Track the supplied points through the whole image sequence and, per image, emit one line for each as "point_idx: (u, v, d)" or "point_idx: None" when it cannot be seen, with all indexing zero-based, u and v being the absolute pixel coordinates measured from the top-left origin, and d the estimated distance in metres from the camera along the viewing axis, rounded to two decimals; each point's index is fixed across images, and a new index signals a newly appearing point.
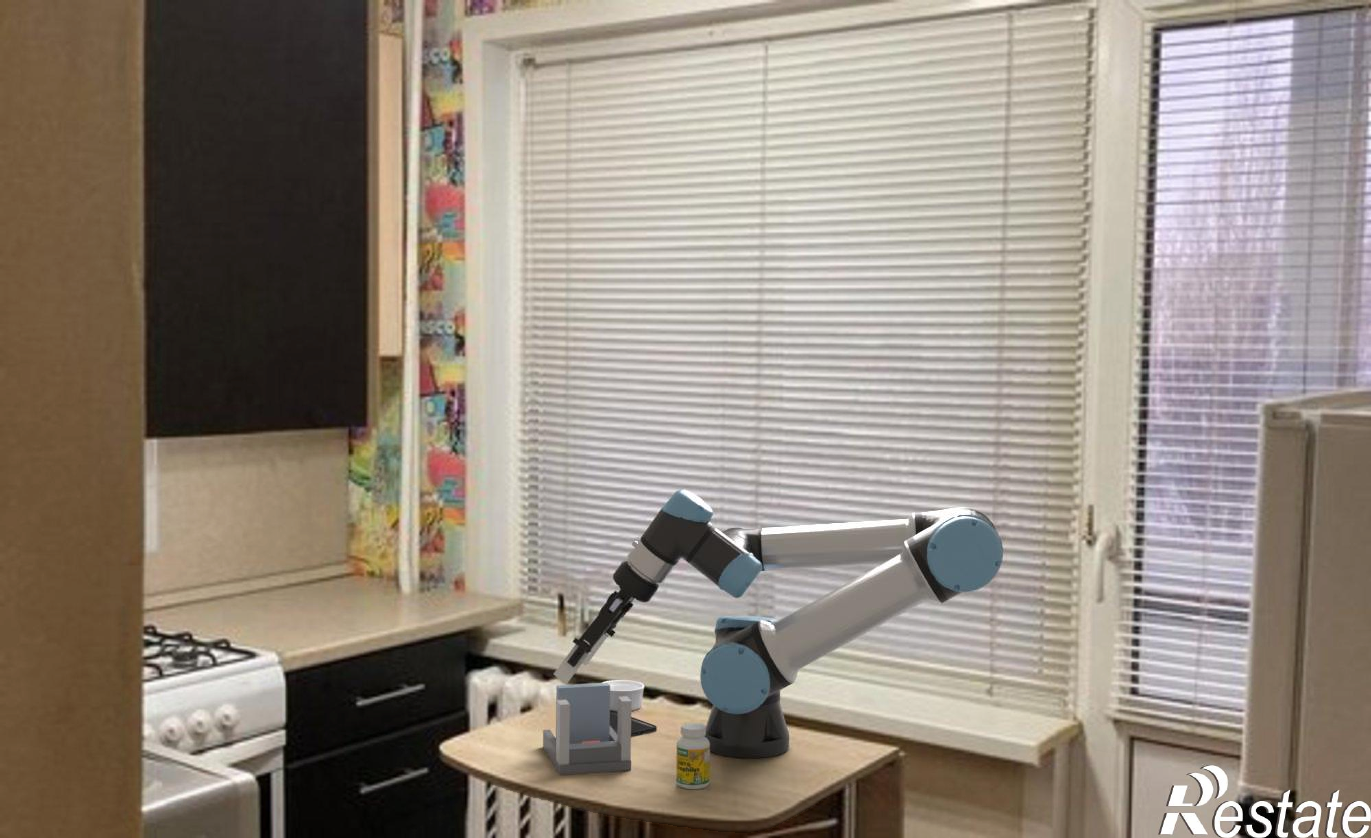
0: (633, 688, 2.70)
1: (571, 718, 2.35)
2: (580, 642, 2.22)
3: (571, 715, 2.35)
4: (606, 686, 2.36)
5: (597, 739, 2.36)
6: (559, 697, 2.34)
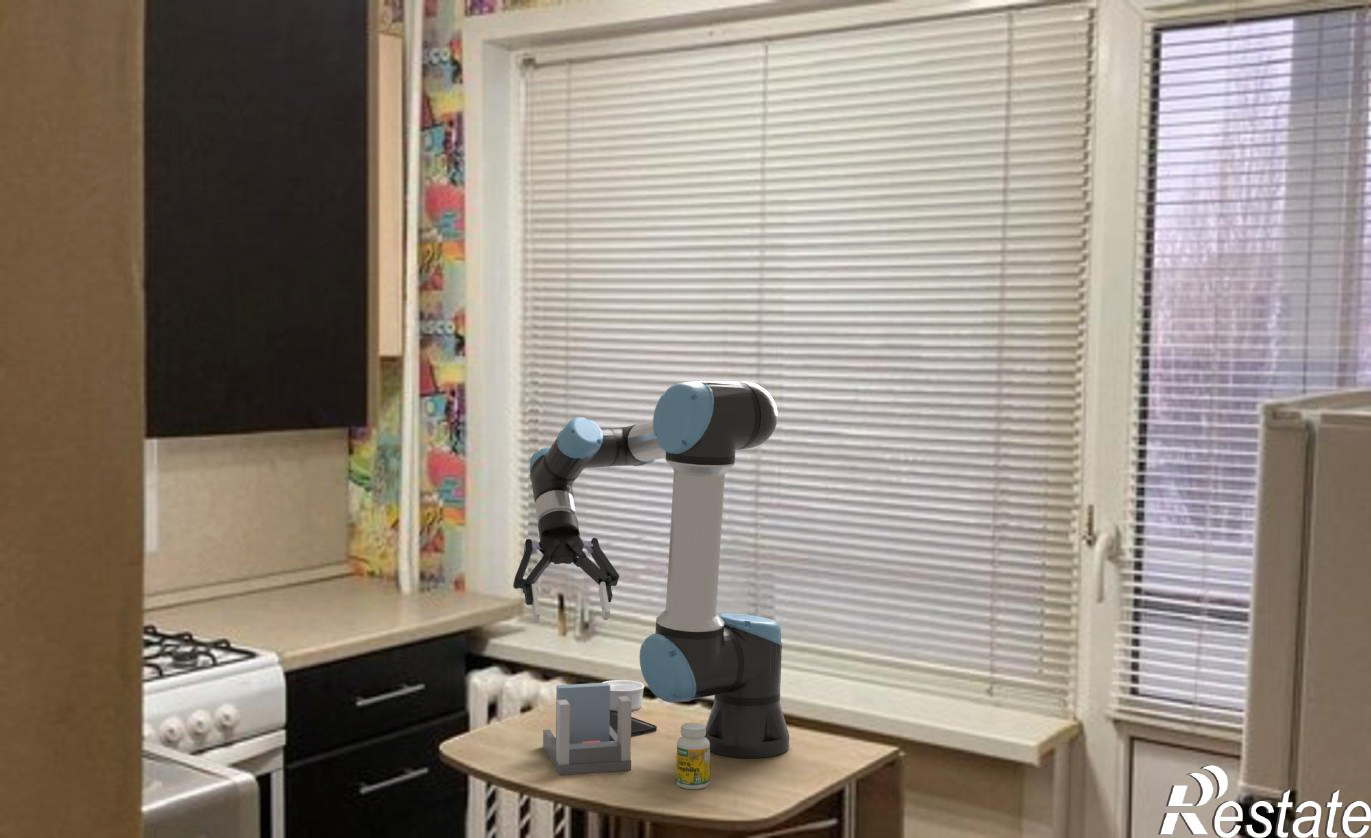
0: (633, 688, 2.70)
1: (571, 718, 2.35)
2: None
3: (571, 715, 2.35)
4: (606, 686, 2.36)
5: (597, 739, 2.36)
6: (559, 697, 2.34)
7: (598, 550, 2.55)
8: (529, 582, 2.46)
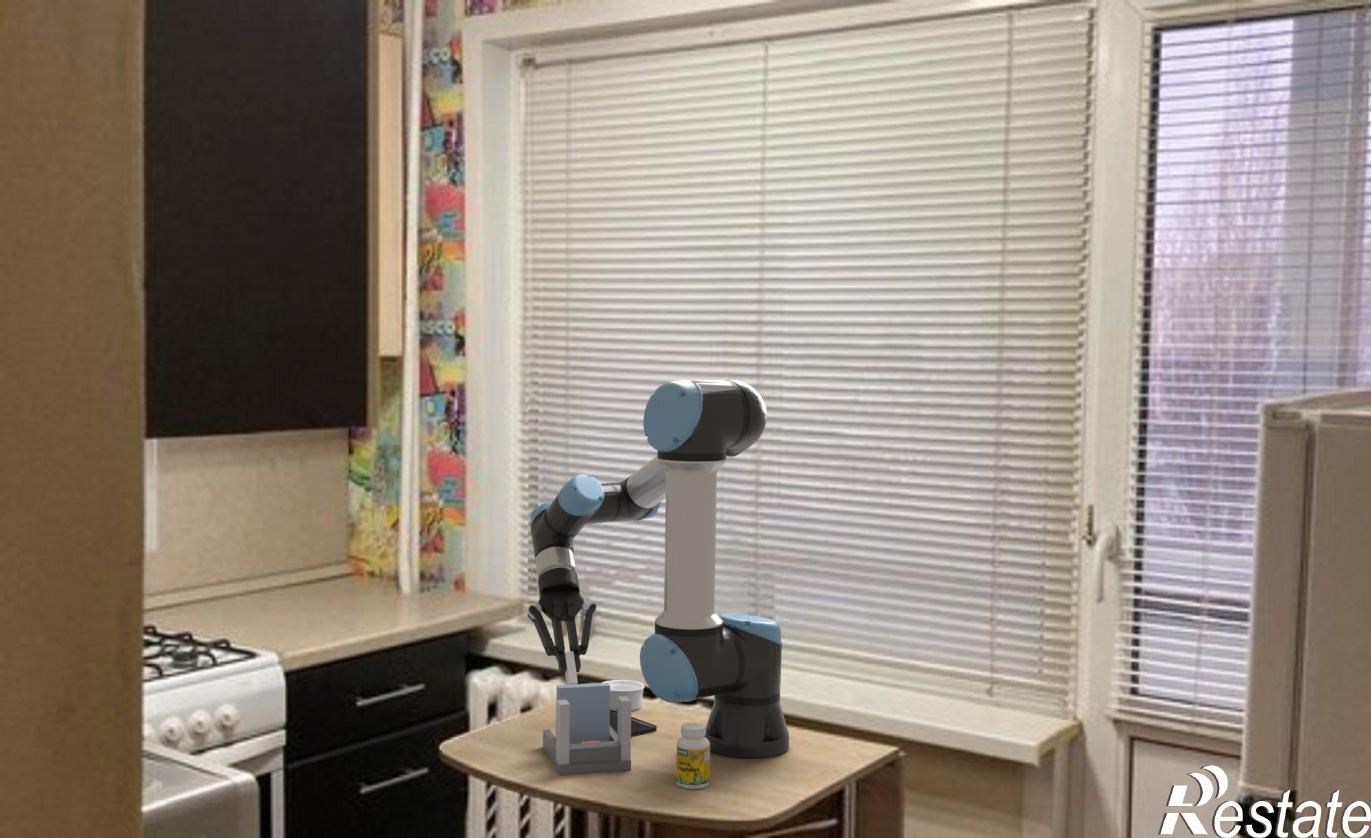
0: (633, 688, 2.70)
1: (571, 718, 2.35)
2: (547, 652, 2.47)
3: (571, 715, 2.35)
4: (606, 686, 2.36)
5: (597, 739, 2.36)
6: (559, 697, 2.34)
7: (588, 616, 2.52)
8: (563, 649, 2.46)
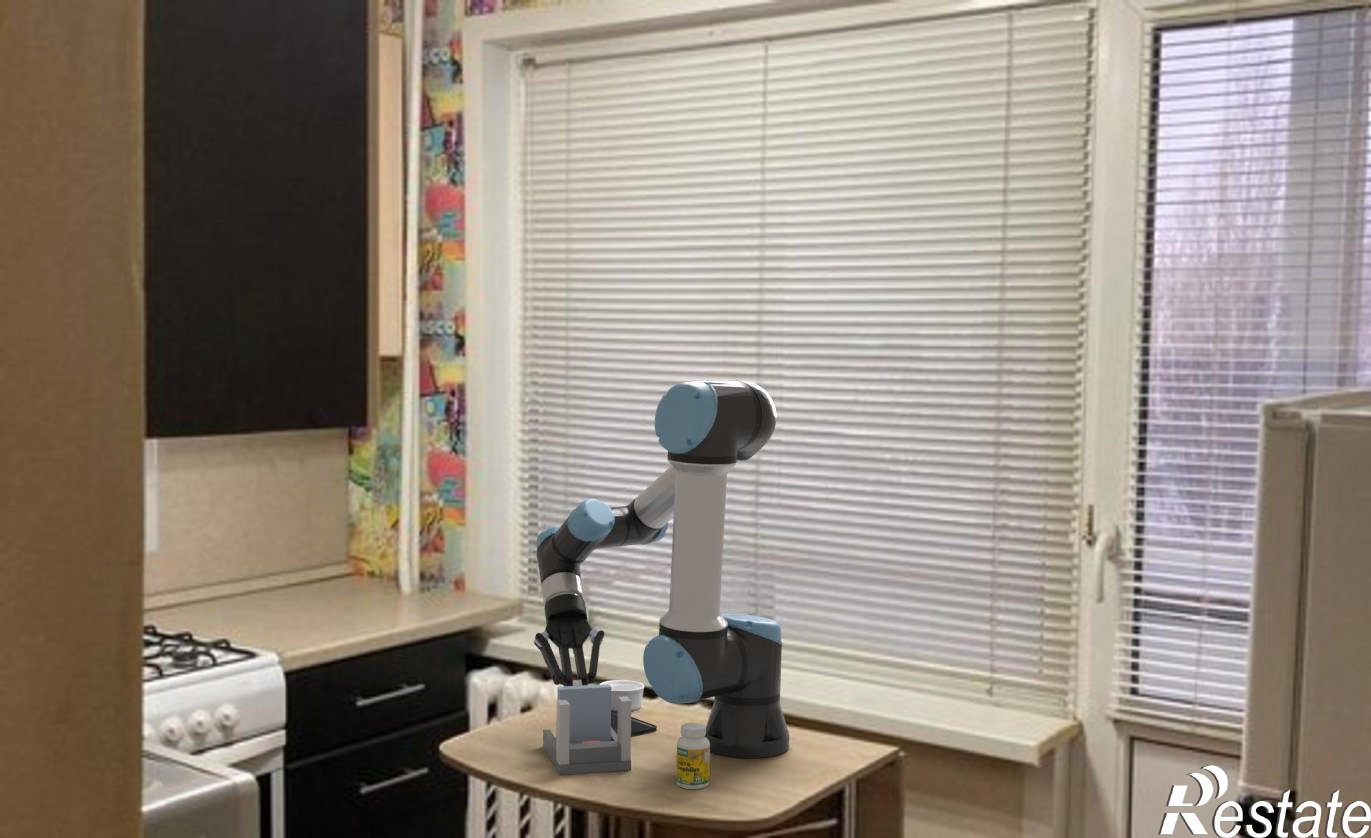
0: (633, 688, 2.70)
1: (572, 720, 2.34)
2: (554, 681, 2.42)
3: (572, 717, 2.34)
4: (607, 687, 2.35)
5: None
6: (560, 699, 2.33)
7: (596, 643, 2.47)
8: (571, 677, 2.41)
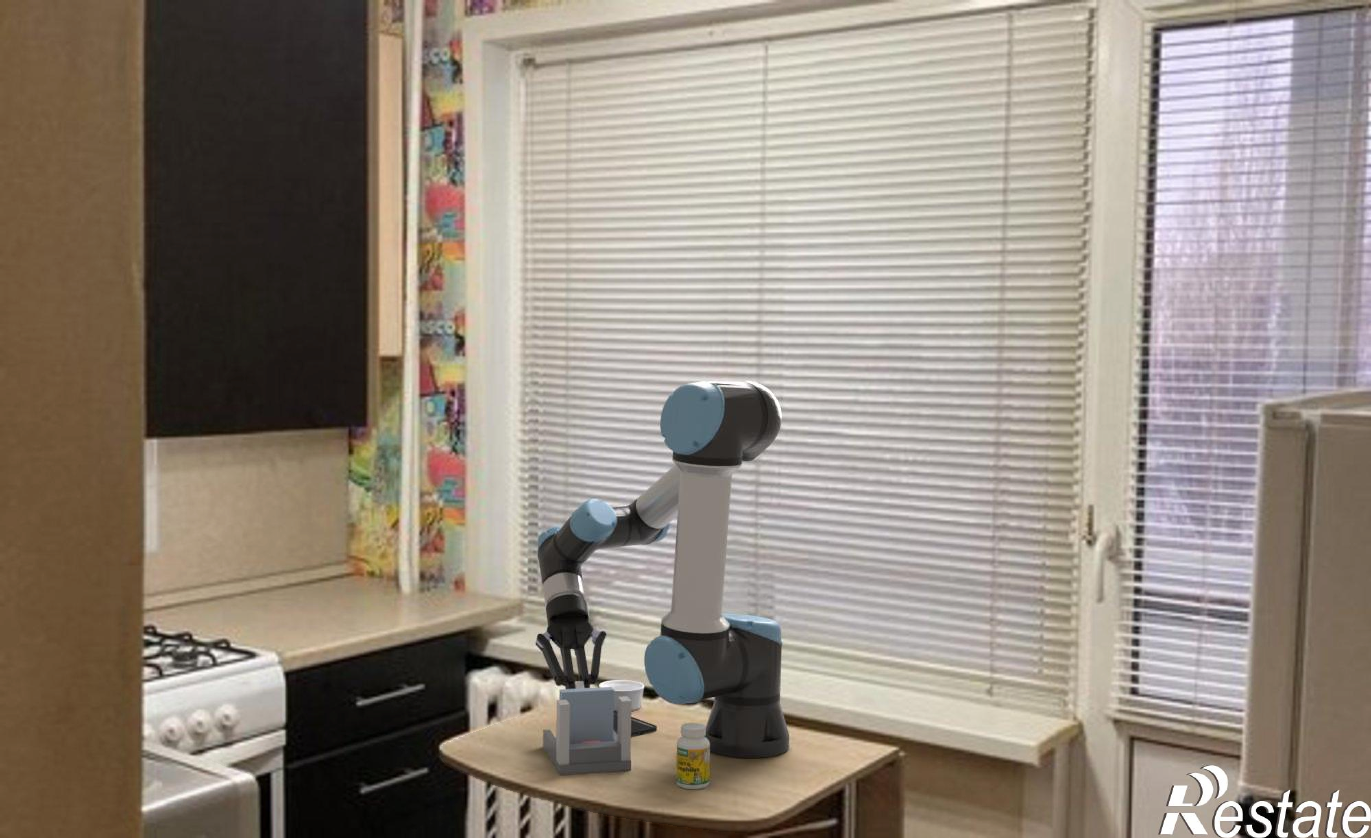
0: (633, 688, 2.70)
1: (574, 723, 2.32)
2: (556, 682, 2.41)
3: (574, 720, 2.32)
4: (610, 690, 2.33)
5: None
6: None
7: (598, 644, 2.46)
8: (573, 678, 2.40)
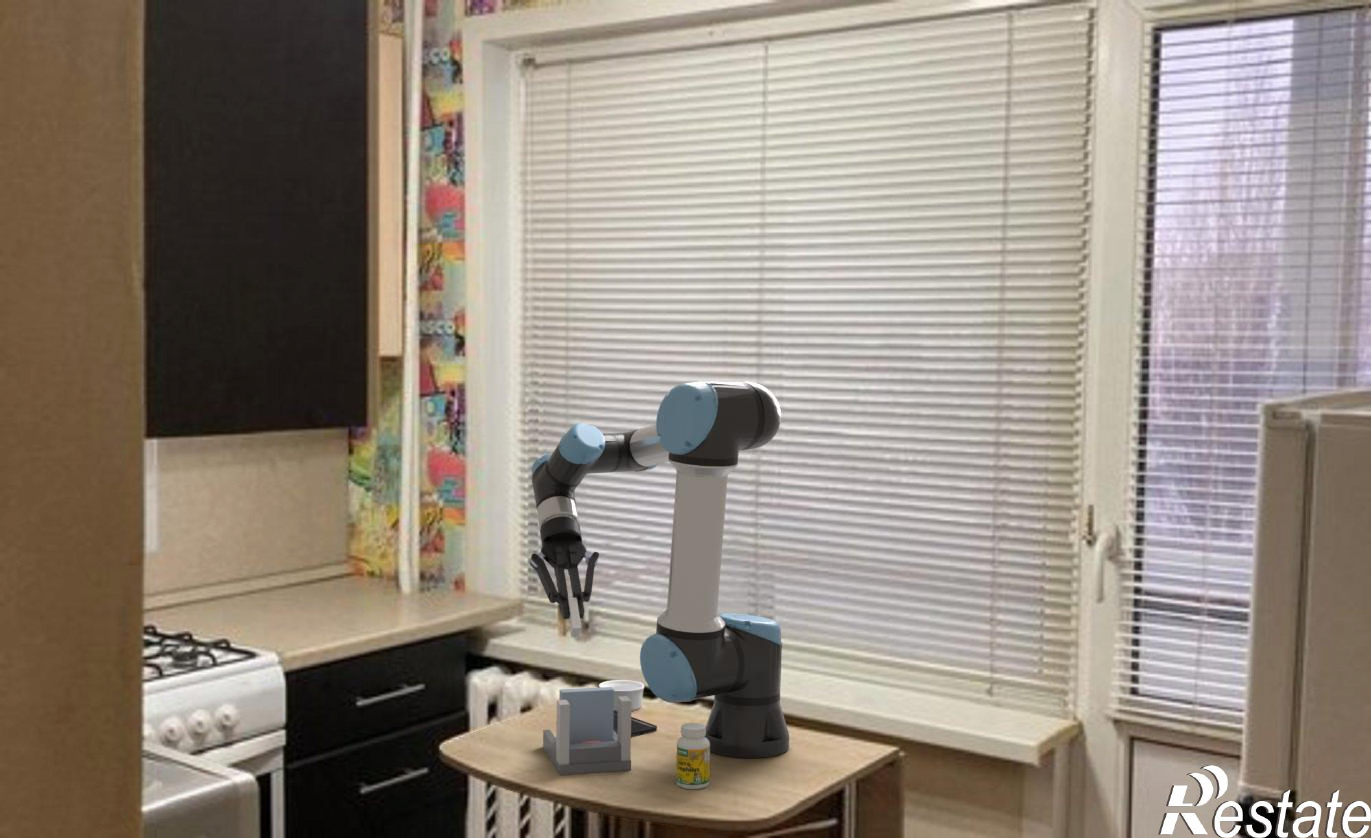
0: (633, 688, 2.70)
1: (574, 723, 2.32)
2: (550, 599, 2.47)
3: (574, 720, 2.32)
4: (610, 690, 2.33)
5: None
6: None
7: (591, 563, 2.52)
8: (566, 595, 2.46)
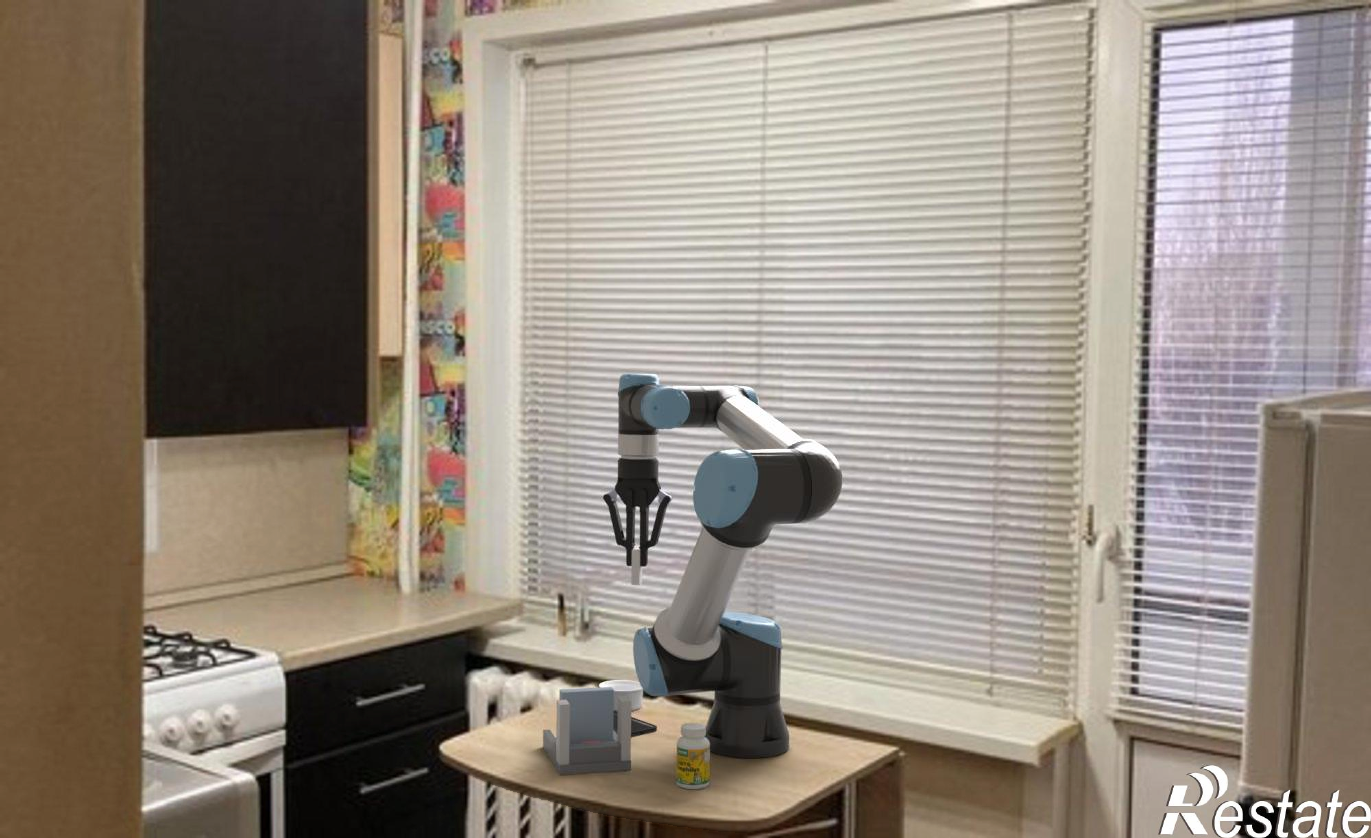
0: (633, 688, 2.70)
1: (574, 723, 2.32)
2: None
3: (574, 720, 2.32)
4: (610, 690, 2.33)
5: None
6: None
7: (660, 510, 2.52)
8: (630, 546, 2.53)
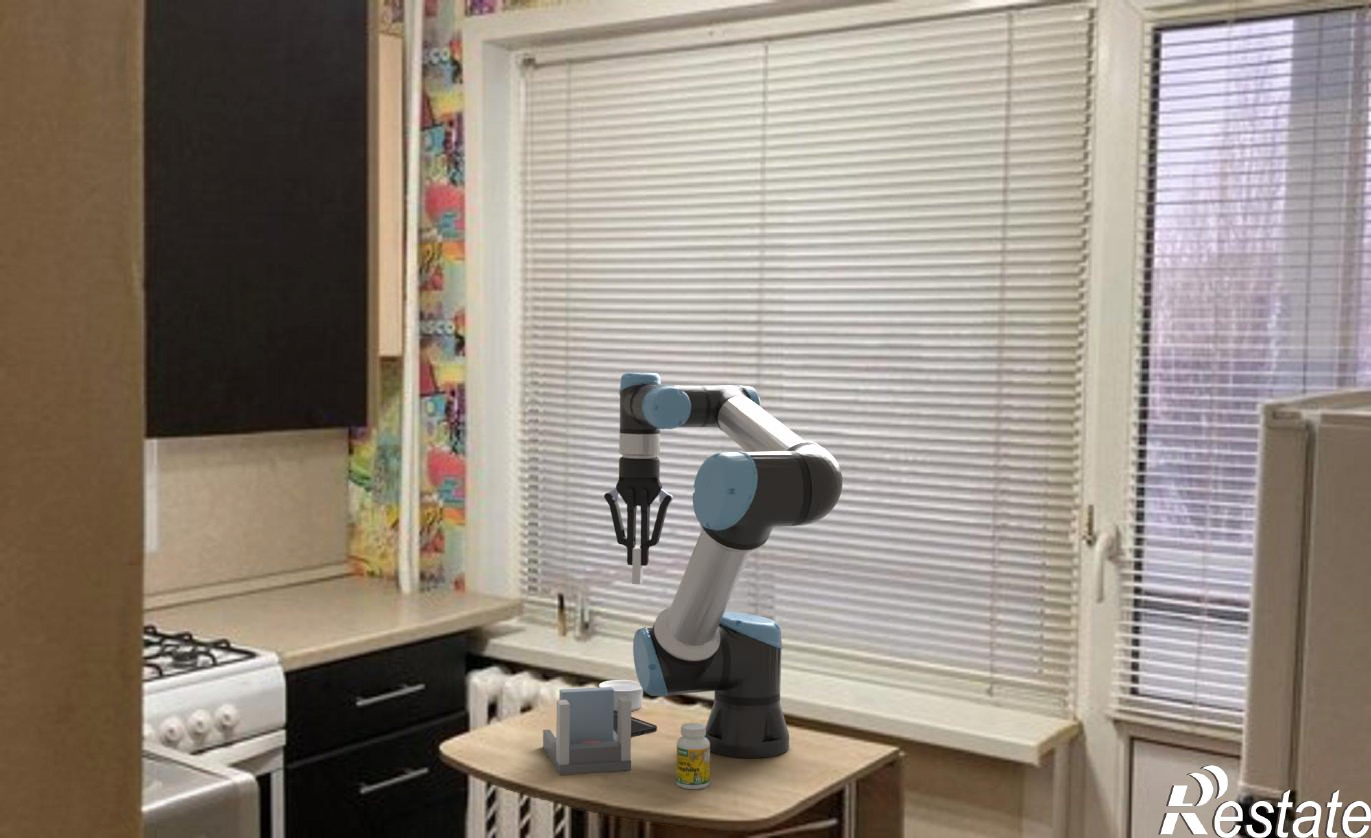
0: (633, 688, 2.70)
1: (574, 723, 2.32)
2: None
3: (574, 720, 2.32)
4: (610, 690, 2.33)
5: None
6: None
7: (661, 509, 2.52)
8: (631, 545, 2.53)
